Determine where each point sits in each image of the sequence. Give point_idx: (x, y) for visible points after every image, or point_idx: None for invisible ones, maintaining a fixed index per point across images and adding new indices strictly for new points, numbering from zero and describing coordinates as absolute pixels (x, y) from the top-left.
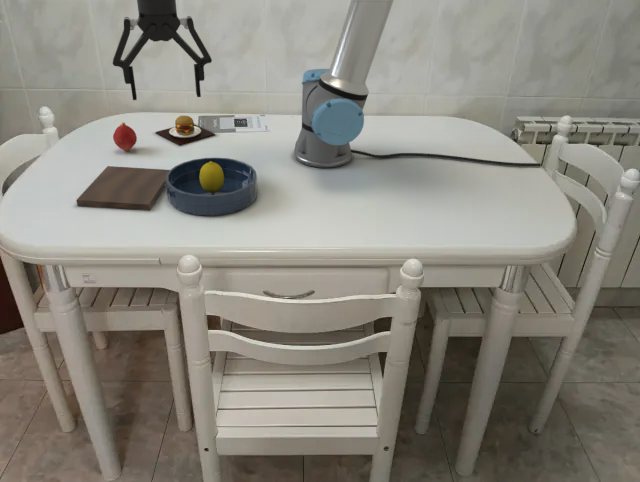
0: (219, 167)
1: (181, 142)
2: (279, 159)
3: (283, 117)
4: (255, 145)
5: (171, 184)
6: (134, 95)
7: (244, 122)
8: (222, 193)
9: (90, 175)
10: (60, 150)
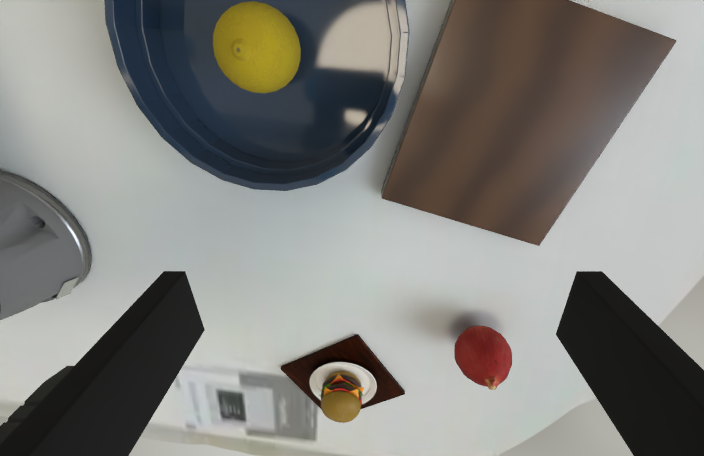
0: (215, 38)
1: (352, 344)
2: (124, 236)
3: None
4: None
5: (389, 73)
6: (605, 293)
7: (224, 407)
8: None
9: (579, 225)
10: None
